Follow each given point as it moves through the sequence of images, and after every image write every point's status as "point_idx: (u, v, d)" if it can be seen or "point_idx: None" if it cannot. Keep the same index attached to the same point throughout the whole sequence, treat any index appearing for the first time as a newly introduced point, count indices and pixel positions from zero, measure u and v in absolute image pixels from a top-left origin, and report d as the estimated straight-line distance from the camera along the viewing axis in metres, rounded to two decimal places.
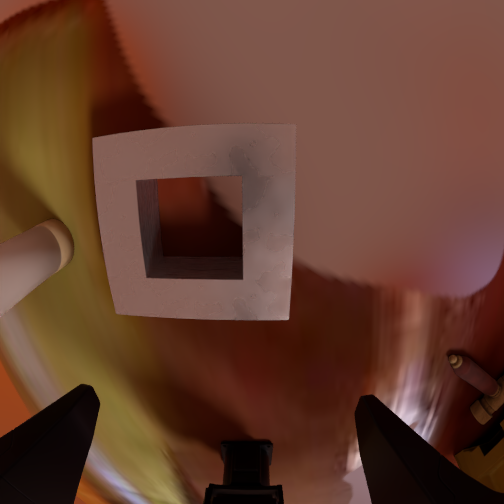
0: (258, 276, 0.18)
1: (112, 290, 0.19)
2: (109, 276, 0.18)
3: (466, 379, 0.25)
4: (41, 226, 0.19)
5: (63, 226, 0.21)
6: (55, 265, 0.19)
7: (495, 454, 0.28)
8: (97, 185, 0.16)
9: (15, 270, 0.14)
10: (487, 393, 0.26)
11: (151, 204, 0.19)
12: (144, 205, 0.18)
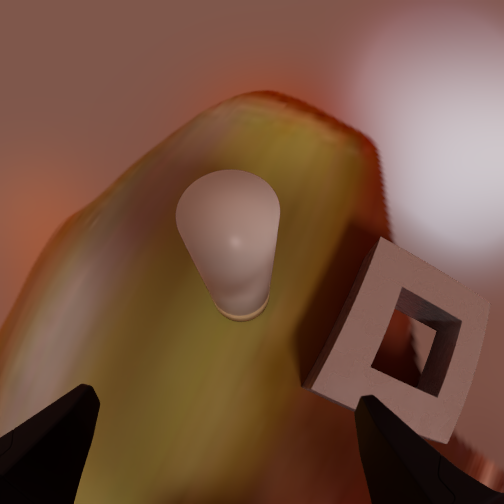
0: (446, 398, 0.15)
1: (327, 363, 0.17)
2: (334, 348, 0.18)
3: None
4: None
5: None
6: (257, 307, 0.20)
7: None
8: (370, 270, 0.20)
9: None
10: None
11: None
12: None
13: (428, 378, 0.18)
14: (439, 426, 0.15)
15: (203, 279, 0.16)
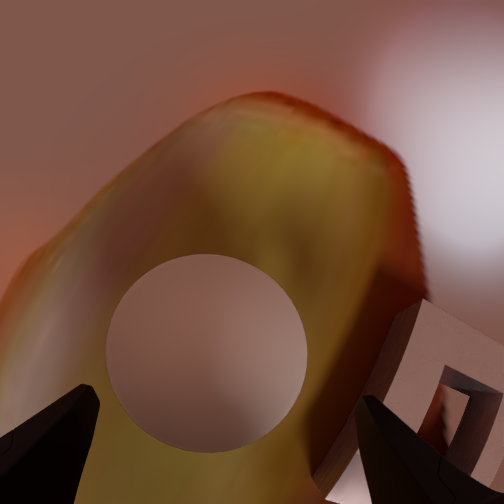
0: None
1: (347, 470, 0.11)
2: (357, 453, 0.11)
3: None
4: None
5: None
6: None
7: None
8: (409, 348, 0.13)
9: None
10: None
11: None
12: None
13: (457, 455, 0.12)
14: None
15: None
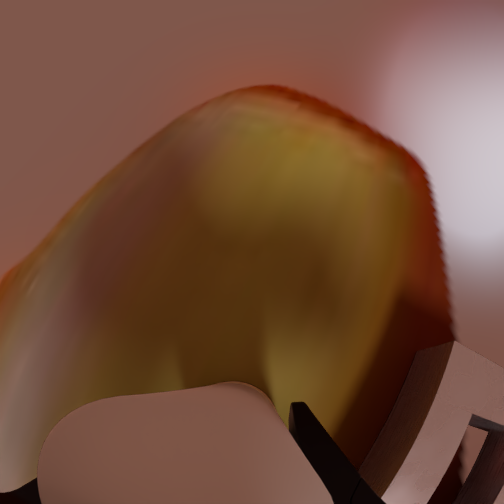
0: None
1: None
2: None
3: None
4: (260, 394, 0.12)
5: None
6: None
7: None
8: (436, 401, 0.10)
9: None
10: None
11: None
12: None
13: (472, 495, 0.09)
14: None
15: None
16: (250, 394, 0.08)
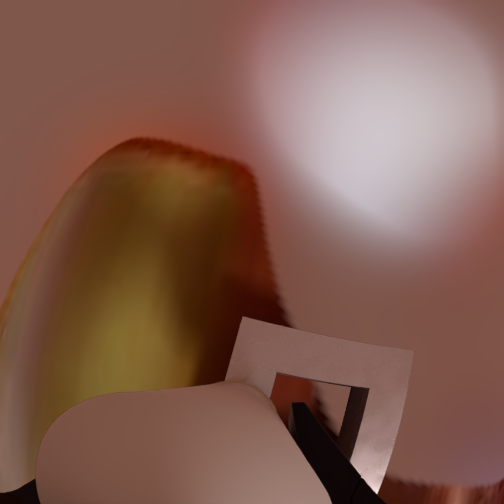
0: (358, 472, 0.14)
1: None
2: None
3: None
4: None
5: None
6: None
7: None
8: (233, 362, 0.17)
9: None
10: None
11: None
12: None
13: (342, 445, 0.17)
14: None
15: None
16: (249, 393, 0.08)
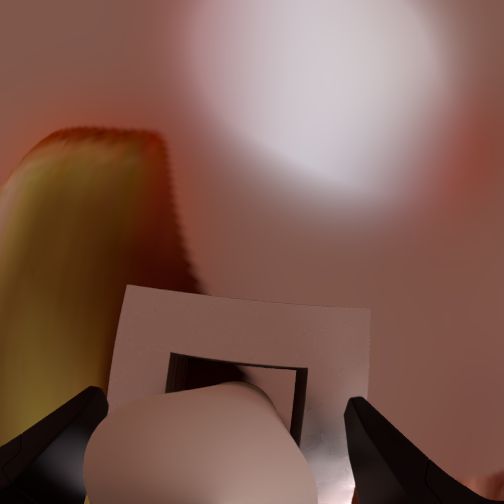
0: None
1: None
2: None
3: None
4: (260, 393, 0.14)
5: None
6: None
7: None
8: (118, 343, 0.13)
9: None
10: None
11: (178, 390, 0.14)
12: (172, 387, 0.13)
13: None
14: None
15: None
16: (251, 392, 0.09)
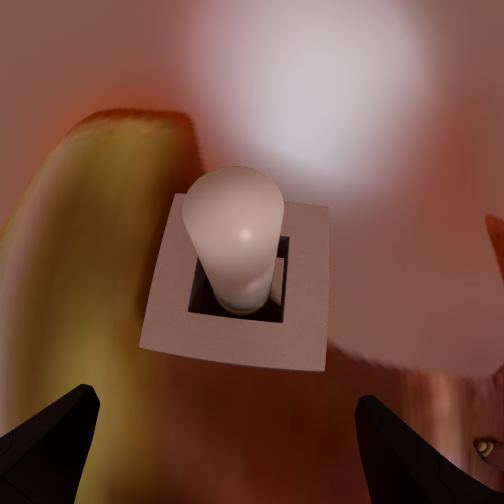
0: (297, 321, 0.19)
1: (145, 320, 0.19)
2: (148, 305, 0.19)
3: (503, 465, 0.13)
4: None
5: None
6: (259, 302, 0.20)
7: None
8: (168, 226, 0.22)
9: (275, 259, 0.17)
10: None
11: None
12: None
13: (281, 307, 0.22)
14: (301, 353, 0.18)
15: (207, 274, 0.16)
16: None
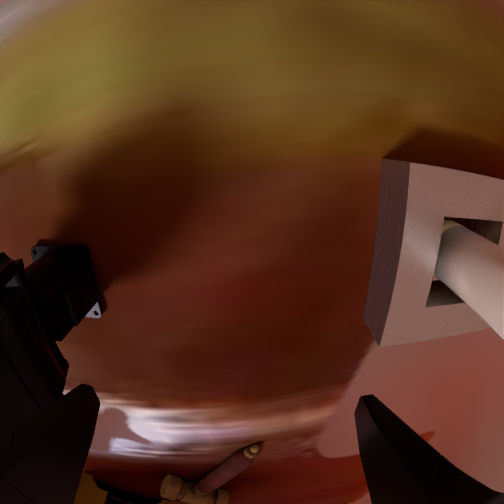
0: (424, 318, 0.17)
1: (435, 168, 0.14)
2: (448, 170, 0.14)
3: (230, 468, 0.28)
4: None
5: None
6: (439, 277, 0.18)
7: None
8: None
9: None
10: (204, 487, 0.30)
11: None
12: None
13: None
14: (397, 326, 0.18)
15: (491, 264, 0.12)
16: None
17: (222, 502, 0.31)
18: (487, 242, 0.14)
